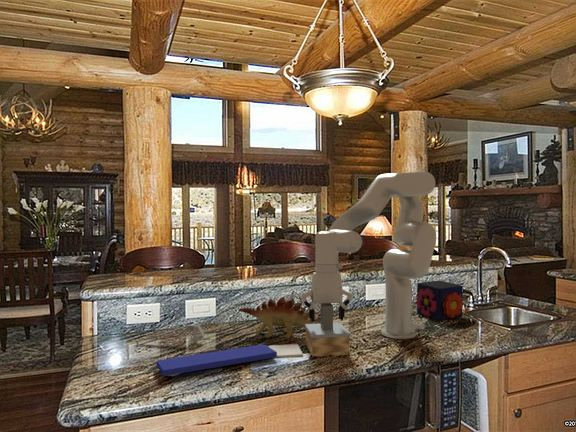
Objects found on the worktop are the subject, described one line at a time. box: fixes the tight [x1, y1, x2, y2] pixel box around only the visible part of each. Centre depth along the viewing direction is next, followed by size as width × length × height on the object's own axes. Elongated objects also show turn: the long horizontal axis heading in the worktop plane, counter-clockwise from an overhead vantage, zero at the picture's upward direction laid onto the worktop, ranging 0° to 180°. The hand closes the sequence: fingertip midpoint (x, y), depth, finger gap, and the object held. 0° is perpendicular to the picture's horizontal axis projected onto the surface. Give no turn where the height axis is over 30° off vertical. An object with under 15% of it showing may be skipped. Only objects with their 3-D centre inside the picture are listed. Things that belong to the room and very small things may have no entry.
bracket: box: [135, 324, 206, 346], centre depth 152 cm, size 3×21×10 cm, turn 94°
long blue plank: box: [156, 343, 278, 377], centre depth 133 cm, size 34×3×10 cm
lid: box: [304, 303, 351, 338], centre depth 146 cm, size 12×12×9 cm
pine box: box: [305, 328, 350, 358], centre depth 146 cm, size 12×12×6 cm
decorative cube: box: [415, 280, 464, 321], centre depth 189 cm, size 16×16×14 cm
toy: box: [239, 297, 321, 339], centre depth 162 cm, size 9×32×15 cm, turn 79°
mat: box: [267, 343, 304, 359], centre depth 144 cm, size 10×10×1 cm
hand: (326, 320), depth 146 cm, fingers open, 9 cm apart
